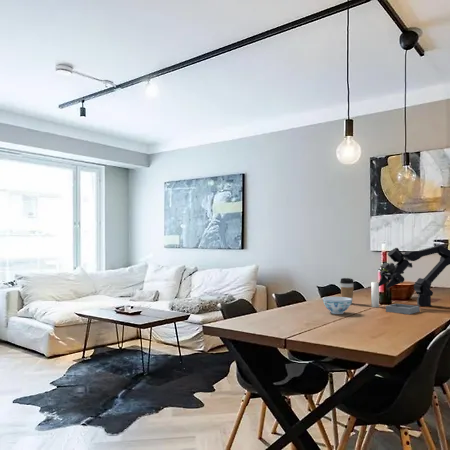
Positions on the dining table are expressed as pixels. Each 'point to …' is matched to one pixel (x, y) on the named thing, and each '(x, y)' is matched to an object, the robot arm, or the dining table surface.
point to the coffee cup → (347, 288)
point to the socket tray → (402, 308)
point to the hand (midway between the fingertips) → (382, 286)
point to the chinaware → (337, 304)
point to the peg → (375, 294)
